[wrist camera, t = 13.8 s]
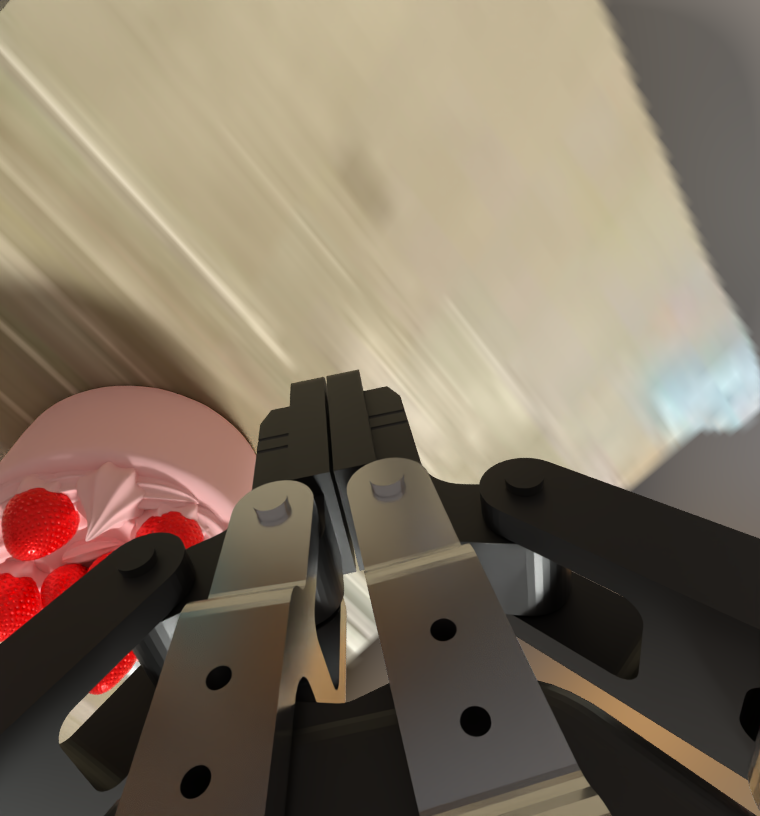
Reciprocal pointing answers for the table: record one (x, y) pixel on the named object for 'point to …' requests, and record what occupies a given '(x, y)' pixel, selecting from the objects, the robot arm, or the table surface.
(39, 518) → the cake
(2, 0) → the gate posts
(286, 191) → the table surface
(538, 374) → the table surface
